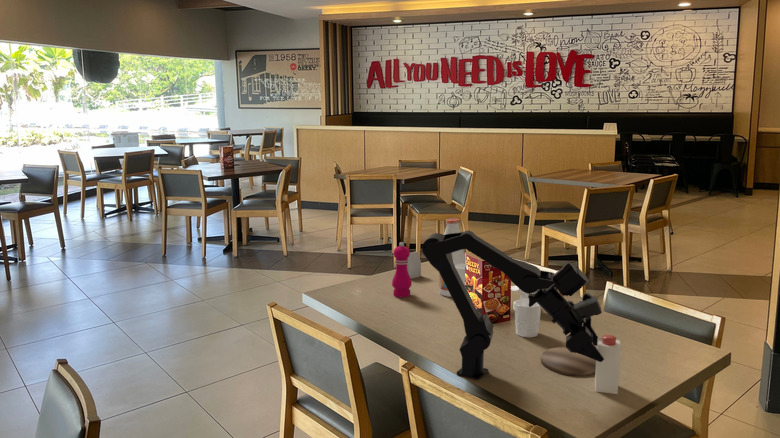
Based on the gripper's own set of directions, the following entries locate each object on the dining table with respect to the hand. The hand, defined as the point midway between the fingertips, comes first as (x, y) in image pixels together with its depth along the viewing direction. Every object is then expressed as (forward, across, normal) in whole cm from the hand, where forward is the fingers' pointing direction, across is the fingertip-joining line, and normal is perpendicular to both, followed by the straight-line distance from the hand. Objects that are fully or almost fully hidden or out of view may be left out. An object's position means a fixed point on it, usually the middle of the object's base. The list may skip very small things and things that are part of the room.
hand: (601, 353), depth 154 cm
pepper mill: (-41, +59, +54) cm, 90 cm away
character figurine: (-10, +54, +23) cm, 60 cm away
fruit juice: (-29, +65, +42) cm, 82 cm away
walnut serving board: (+1, +13, +11) cm, 17 cm away
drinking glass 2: (-24, +50, +37) cm, 67 cm away
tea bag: (-43, +82, +56) cm, 108 cm away
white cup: (-8, +32, +21) cm, 39 cm away
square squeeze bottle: (+8, 0, +5) cm, 9 cm away
